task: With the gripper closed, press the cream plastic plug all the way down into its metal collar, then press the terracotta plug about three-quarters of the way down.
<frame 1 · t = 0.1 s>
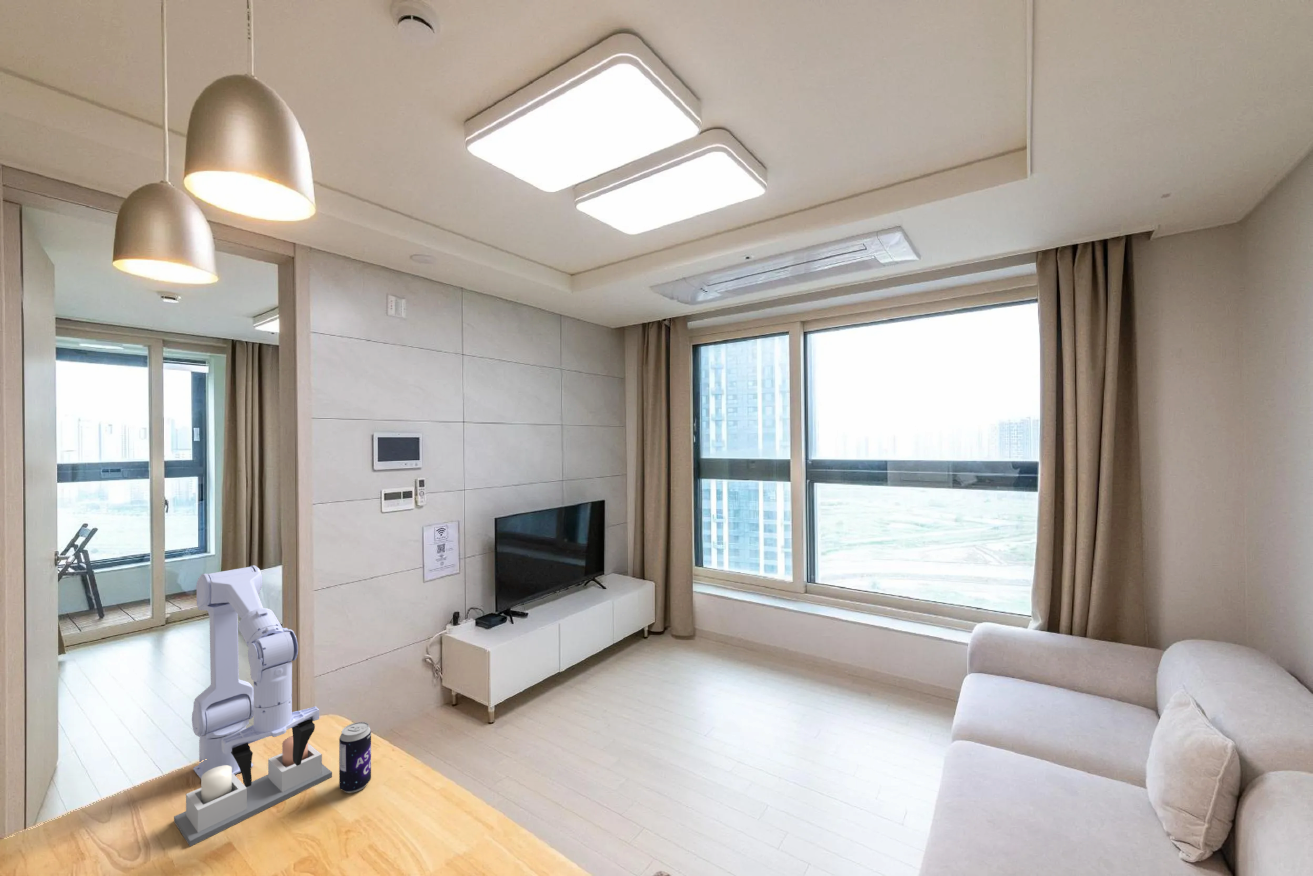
hand: (272, 773, 96), 10 cm above the table, tool pointing down, fingers open, 7 cm apart
beverage can: (355, 787, 108), on the table
plug panel: (257, 797, 104), on the table
terracotta plug: (295, 750, 109), point 6 cm above the table, slide at 0.0 cm
cream plug: (216, 783, 98), point 6 cm above the table, slide at 0.0 cm
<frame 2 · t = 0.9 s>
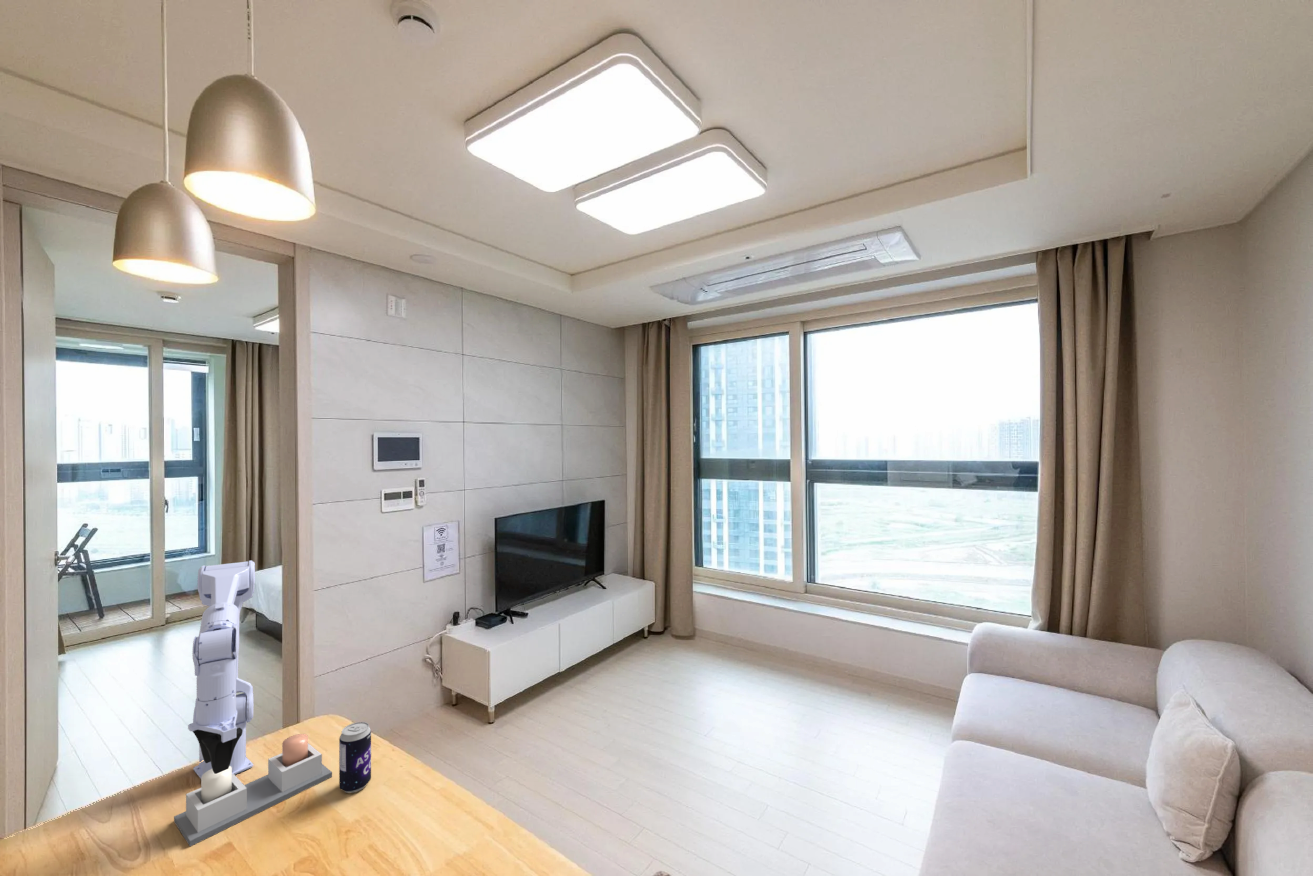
hand: (216, 765, 98), 10 cm above the table, tool pointing down, fingers open, 5 cm apart
nothing on the table moved.
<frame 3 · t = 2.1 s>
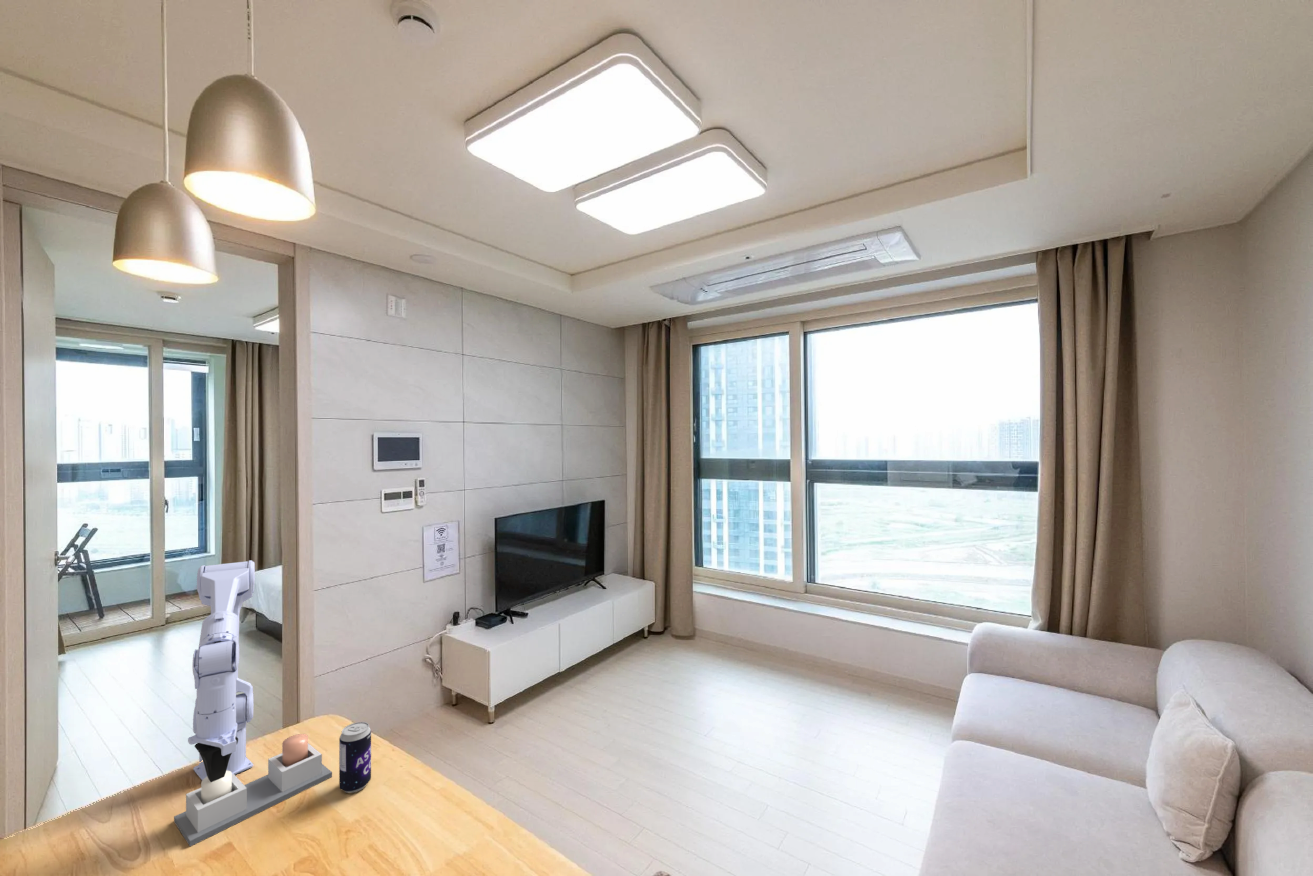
hand: (216, 778, 98), 7 cm above the table, tool pointing down, fingers closed, pressing on cream plug
cream plug: (216, 789, 98), point 5 cm above the table, slide at 1.0 cm, touching gripper
everything else where it was.
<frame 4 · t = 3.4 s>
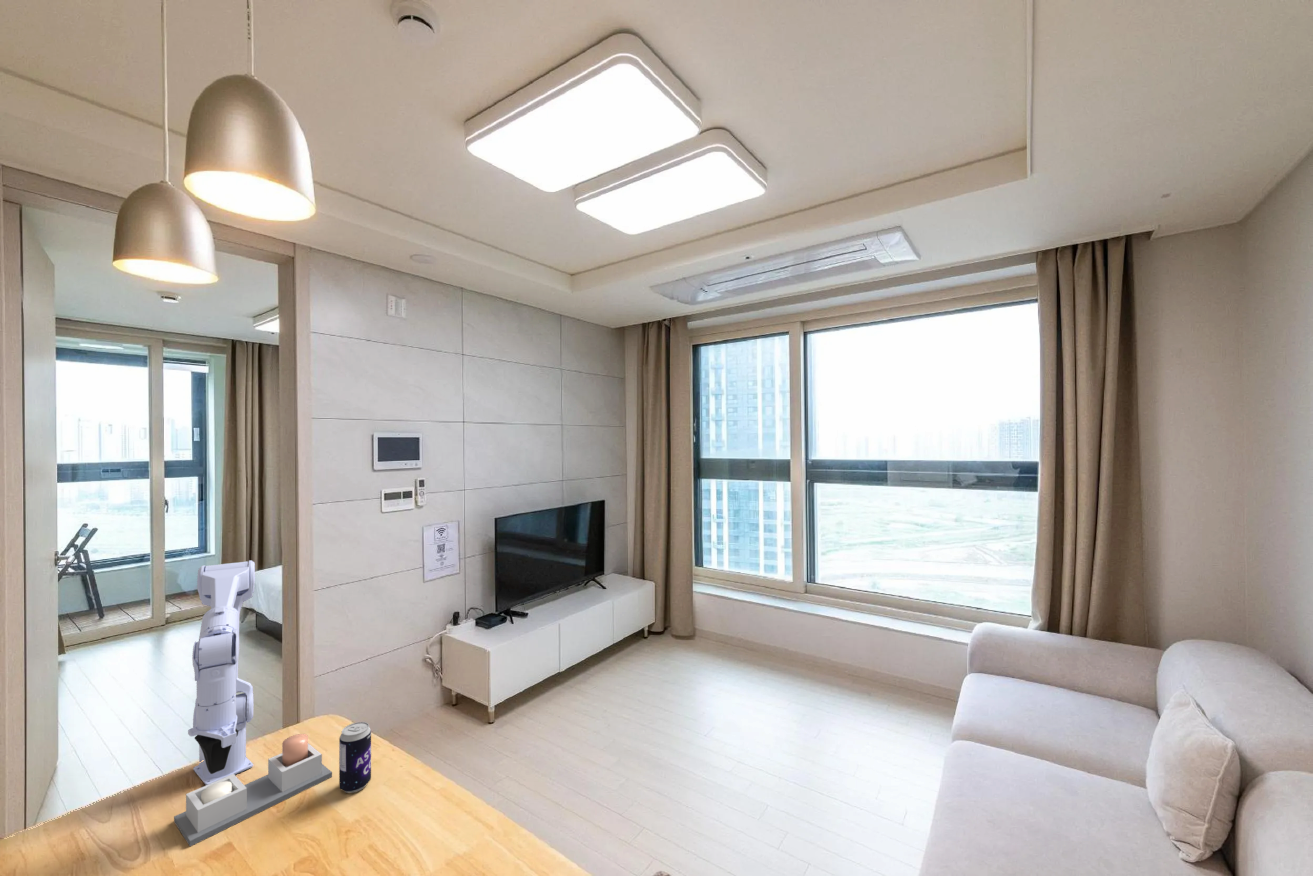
hand: (216, 770, 98), 9 cm above the table, tool pointing down, fingers closed
cream plug: (216, 800, 98), point 3 cm above the table, slide at 3.1 cm
everything else where it was.
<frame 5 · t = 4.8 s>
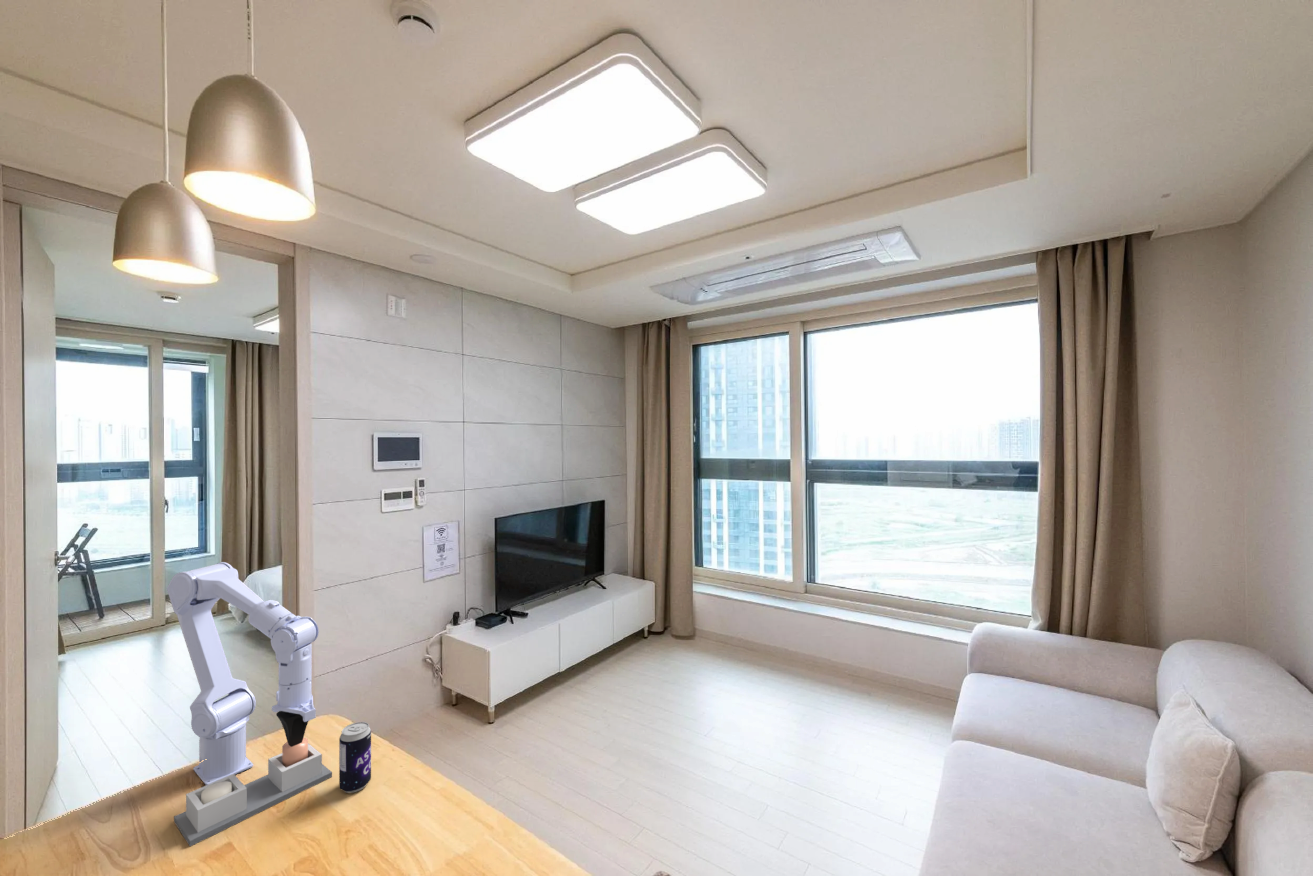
hand: (295, 743, 109), 8 cm above the table, tool pointing down, fingers closed, pressing on terracotta plug
terracotta plug: (295, 753, 109), point 6 cm above the table, slide at 0.8 cm, touching gripper
everything else where it was.
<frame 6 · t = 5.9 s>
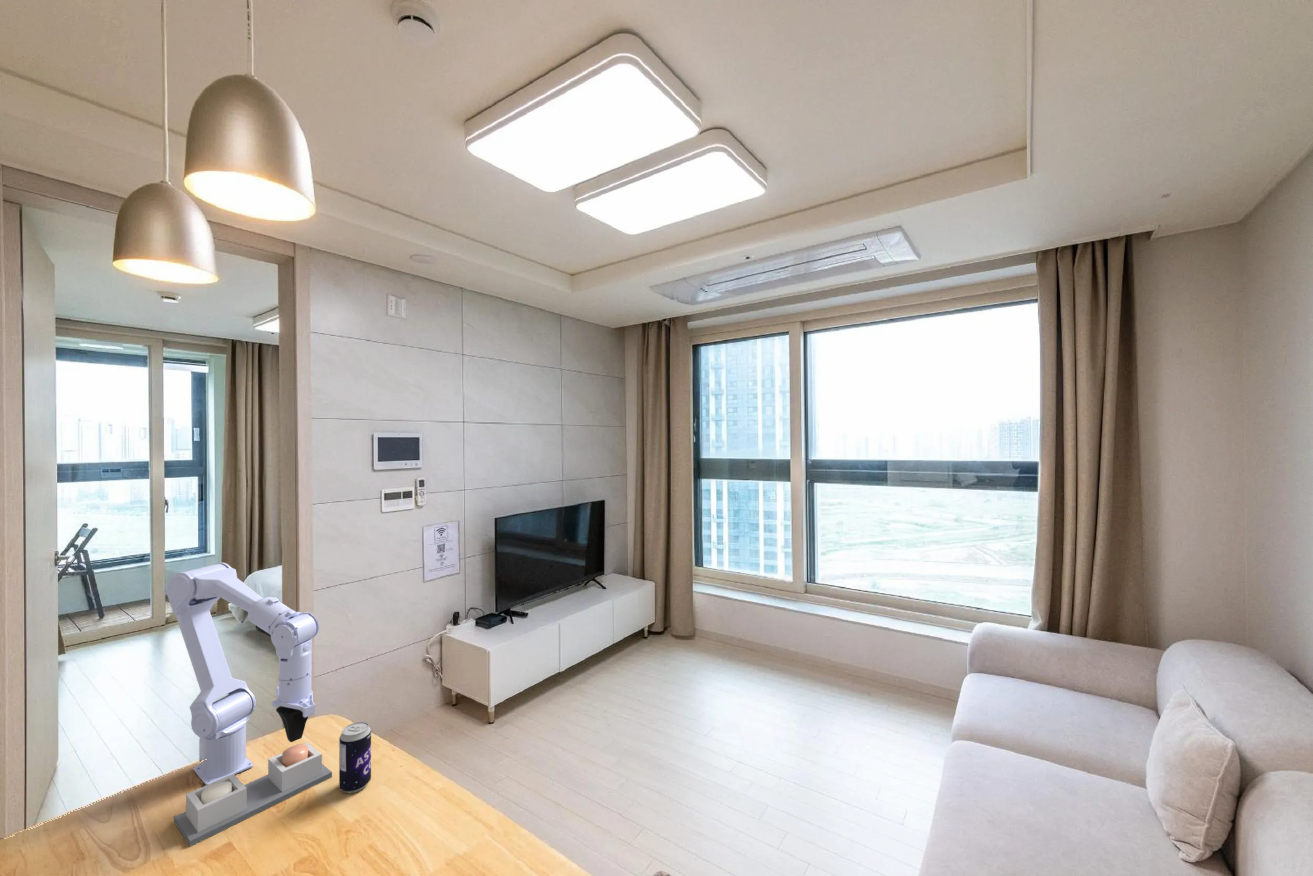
hand: (295, 739, 109), 9 cm above the table, tool pointing down, fingers closed
terracotta plug: (295, 760, 109), point 4 cm above the table, slide at 2.2 cm
everything else where it was.
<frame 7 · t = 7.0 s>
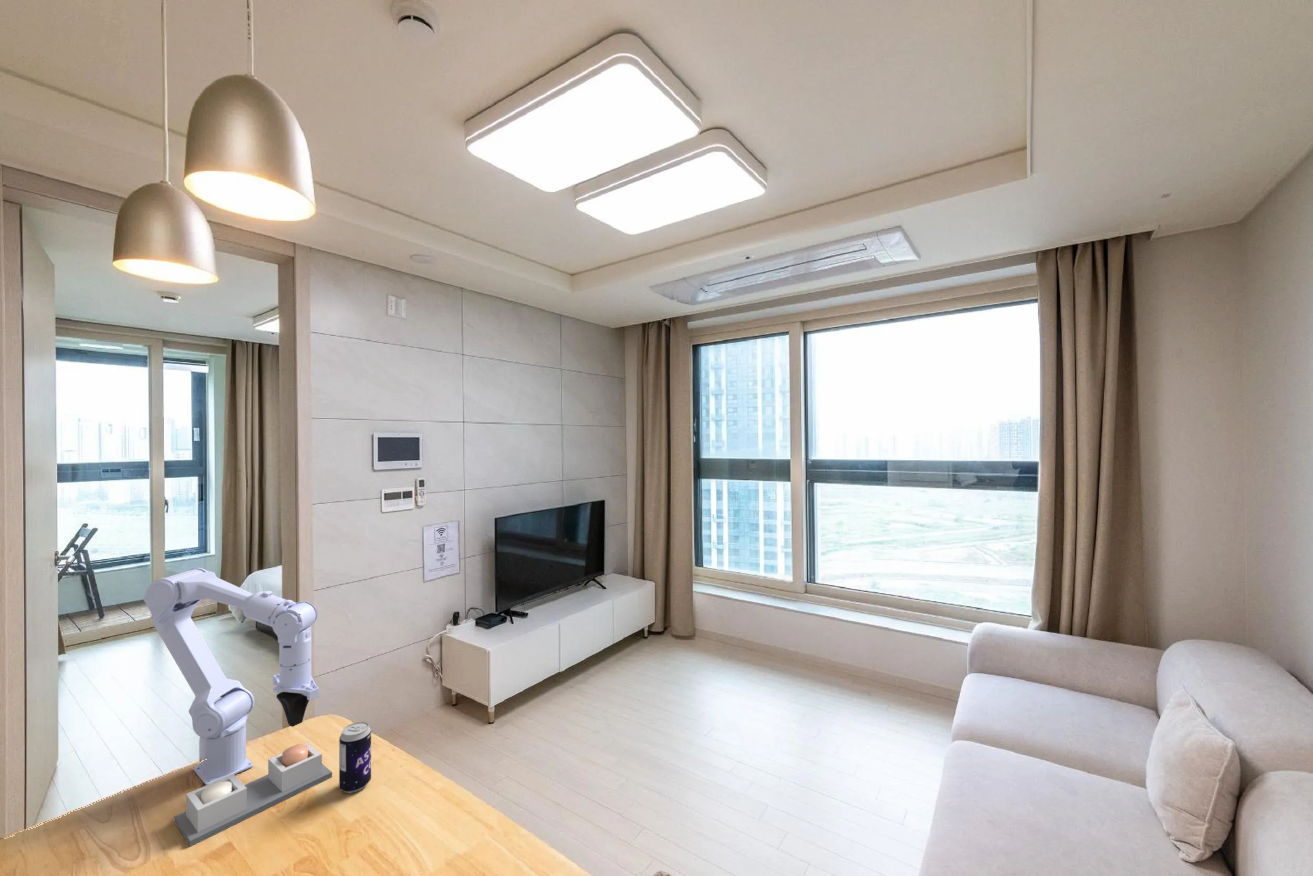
hand: (295, 723, 113), 10 cm above the table, tool pointing down, fingers closed
nothing on the table moved.
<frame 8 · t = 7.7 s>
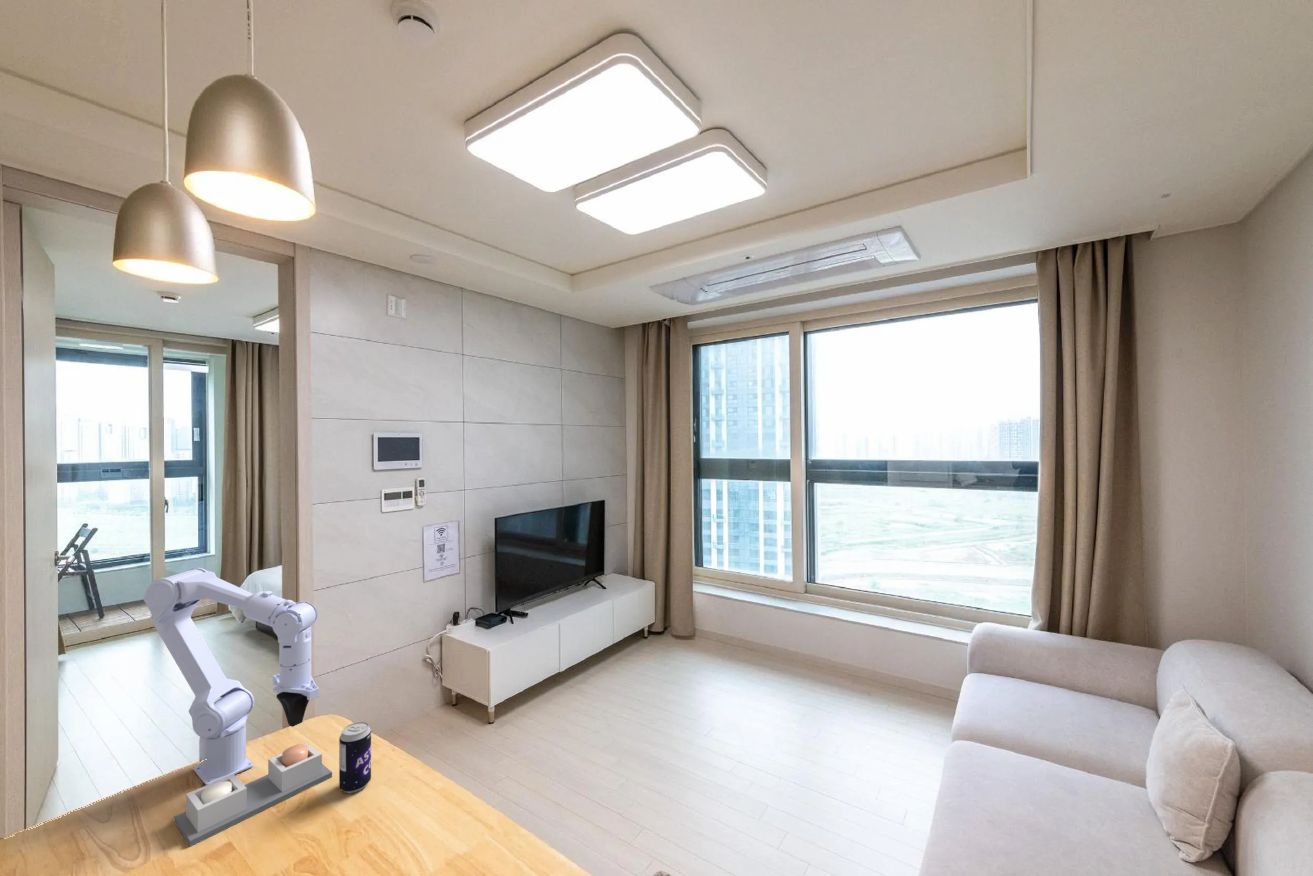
hand: (295, 723, 113), 10 cm above the table, tool pointing down, fingers closed
nothing on the table moved.
at the end: cream plug slide at 3.1 cm; terracotta plug slide at 2.2 cm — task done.
